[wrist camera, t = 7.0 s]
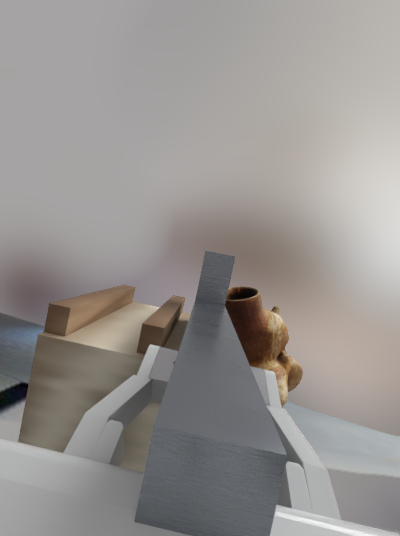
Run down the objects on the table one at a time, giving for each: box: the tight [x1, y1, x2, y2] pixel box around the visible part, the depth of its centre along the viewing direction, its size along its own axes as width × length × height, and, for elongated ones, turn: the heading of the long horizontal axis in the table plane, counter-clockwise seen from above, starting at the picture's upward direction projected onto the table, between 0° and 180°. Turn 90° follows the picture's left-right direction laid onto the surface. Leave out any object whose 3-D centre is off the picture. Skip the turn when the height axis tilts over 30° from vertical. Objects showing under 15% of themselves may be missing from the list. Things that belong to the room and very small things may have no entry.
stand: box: [18, 285, 191, 472], centre depth 21 cm, size 14×14×28 cm
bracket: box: [134, 251, 287, 536], centre depth 15 cm, size 3×20×8 cm, turn 178°
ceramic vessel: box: [225, 287, 303, 407], centre depth 44 cm, size 16×22×30 cm
